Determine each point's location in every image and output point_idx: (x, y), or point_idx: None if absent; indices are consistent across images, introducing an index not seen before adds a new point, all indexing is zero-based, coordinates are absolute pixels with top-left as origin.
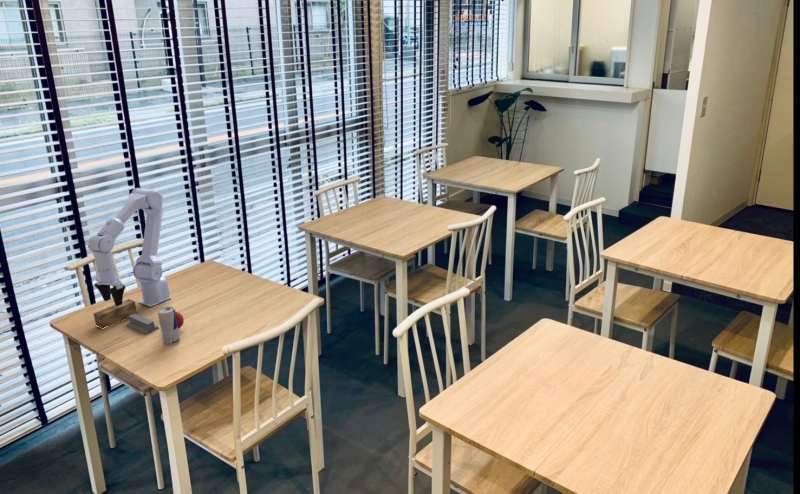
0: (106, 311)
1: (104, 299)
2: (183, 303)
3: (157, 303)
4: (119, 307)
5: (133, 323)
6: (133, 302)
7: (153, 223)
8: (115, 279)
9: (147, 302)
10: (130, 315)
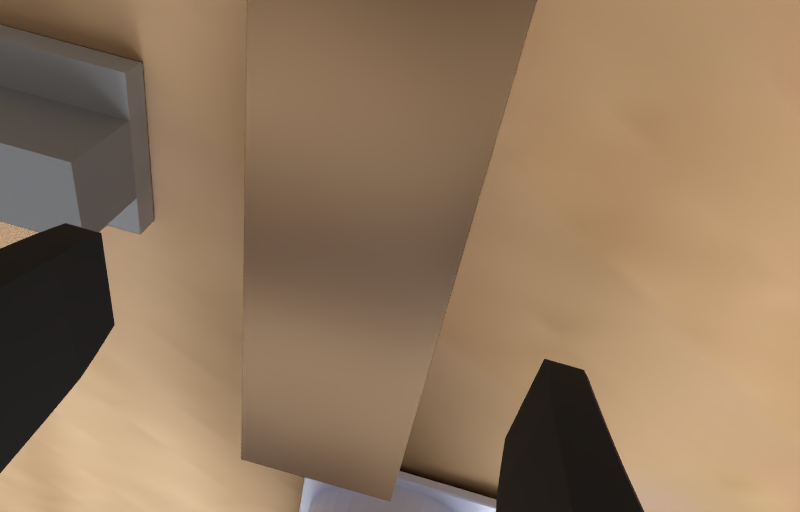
0: (327, 82)
1: (551, 394)
2: (140, 504)
3: (302, 493)
4: (255, 283)
5: (37, 98)
6: (246, 438)
7: None
8: None
9: (367, 496)
10: (70, 187)
